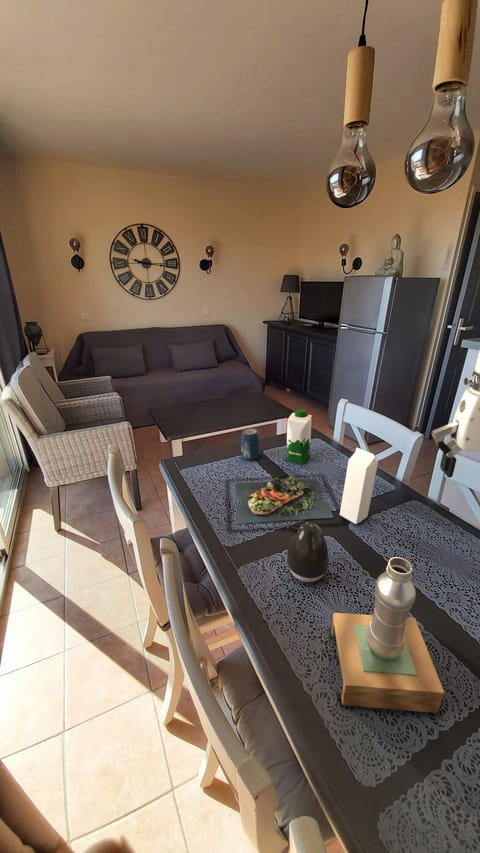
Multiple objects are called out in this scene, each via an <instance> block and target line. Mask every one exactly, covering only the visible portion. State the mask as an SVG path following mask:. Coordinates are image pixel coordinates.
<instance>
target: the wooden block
mask: <svg viewBox="0 0 480 853" xmlns="http://www.w3.org/2000/svg"><path fill="white" fill-rule="evenodd" d="M372 617H373V614H363V613H361V614H360V613H345V612H333V614H332V623H331V637H332V638H335V640H336V646H337V651H338V658H339V664H340V671H341V677H342V683H343V684H342V690H341V697H340V698H341V703H342V704H341V706H350V707H360V708H374V709H385V710H387V709H388V710H398V711H399V710H400V711H409V712H421V713H434V714H439V711H440V708H441V705H442V701H443V699H444V697H445V696H444V695H445V690H444V688H443V686H442V685H443V684H442V683H441V681H440V678H439V675H438V673H437V670H436V667H435V665H434V663H433V660H432V658H431V655H430V651H429V650H428V648H427V645H426V642H425V639H424V637H423V634H422V632H421V630H420V626H419V625H418V622H417V620H416V617H413V616H412V617H411V616H408V617H407V621H406V625H405V647H404V650H403V651H402V653H401V655H400V656H399V657H397V658H395V659H383V658H381V657H379V656H378V655H376V654H375V653H374V652H373V651H372V649H371V648H370V646H369V644H368V641H367V629H368V627H369V624H370V622H371V620H372Z"/></svg>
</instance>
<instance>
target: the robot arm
mask: <svg viewBox="0 0 480 853" xmlns="http://www.w3.org/2000/svg"><path fill="white" fill-rule="evenodd" d="M463 384H464V386H469V387H470V388H469V387H468V388H466V389H465V390H464V392H463V395H462V397H461V398H460V402H459V403H458V406H457V408H456V411H455V414H454V417H453V420H452V422H450V423H448V424H445V425H443V426H440V427H438V428H435V429H433V430H432V431H431V435H432V439H433V441H434V444H435V445H436V446H437V447H438V448H439V450H440V451H441V452H442V456H441V459H440V465H439V468H440V470H441V471H442V472H443V474H444V475H445V476H446V477H447V478H452V477H453V476H454V472H455V468H456V464H457V458H456V455H457V454H459V453H460V452H461V451H465V452H476V453H477V452H478V453H480V349H479V351H478V355H477V359H476V363H475V367H474V371H472V375H471V376H465V378H464V380H463ZM446 436H449V438H450V439H448V440H447V441H446V442H445V440H444V438H445V437H446Z"/></svg>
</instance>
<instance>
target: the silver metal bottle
mask: <svg viewBox="0 0 480 853" xmlns="http://www.w3.org/2000/svg"><path fill="white" fill-rule="evenodd" d="M412 572H413V566H412V564H411V562H409V561H408V560H407V559H405V558H403V557H398V556H395V557H391V558H390V559H389V560H388V561H387V566H386V570H385V571H384V572H383V573H381V574H380V575H379V576H378V577H377V579H376V580H375V584H374V597H375V598H374V610H373V614H372V615H373V617H372V620H371V622H370V624H369V627H368V629H367V641H368V644H369V646H370V648H371V649H372V651H373V652H374V653H375V654H376V655H378V656H379V657H381V658H383V659H395V658H397V657H399V656H400V655H401V653H402V651H403V650H404V647H405V625H406V621H407V617H409V614H410V613H411V610H412V608H413V606H414V604H415V601H416V599H417V598H416V597H417V593H416V588H415V585H414V583H413V581H412V580H411V579H412Z"/></svg>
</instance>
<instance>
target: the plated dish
mask: <svg viewBox="0 0 480 853" xmlns="http://www.w3.org/2000/svg"><path fill="white" fill-rule="evenodd" d="M234 486H235V497H236V498H238V499H239V501H240V504H239V505H238V507H236V524H237V525H249V524H250V525H251V524H265V523H267V524H269V523H281V522H282V523H283V522H284V523H285V522H296V521H298V522H299V521H313V520H331V519H334V515H333V513H332V511H331V508H330V506H329V503H328V502H326V501H324V500H323V499H322V498H321V494H322V492H323V490H322V488H321V486H320V483H319V481H318V479H317V478H305V479H304V478H303V479H297V476H288V477H286V479H285V478H284V477H282V479H281V478H279V477H277V476H276V477H274V478H273V479H271V480H268V481H267V480H265V481H250V482H248V481H247V482H237V483H234Z"/></svg>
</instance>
